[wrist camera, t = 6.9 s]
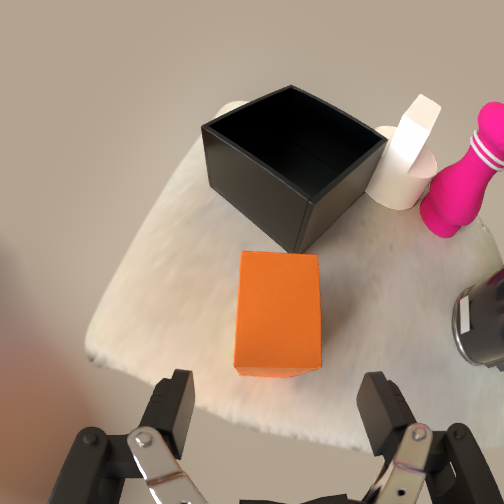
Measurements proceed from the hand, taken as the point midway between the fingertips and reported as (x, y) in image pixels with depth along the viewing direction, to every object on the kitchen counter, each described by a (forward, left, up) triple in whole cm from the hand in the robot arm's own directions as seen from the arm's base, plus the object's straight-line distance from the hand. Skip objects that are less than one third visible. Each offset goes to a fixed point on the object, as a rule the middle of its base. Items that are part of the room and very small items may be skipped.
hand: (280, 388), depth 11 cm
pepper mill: (-3, -29, -11) cm, 31 cm away
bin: (+13, -17, -11) cm, 24 cm away
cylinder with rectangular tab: (+5, -28, -11) cm, 31 cm away
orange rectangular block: (+3, -3, -11) cm, 12 cm away
